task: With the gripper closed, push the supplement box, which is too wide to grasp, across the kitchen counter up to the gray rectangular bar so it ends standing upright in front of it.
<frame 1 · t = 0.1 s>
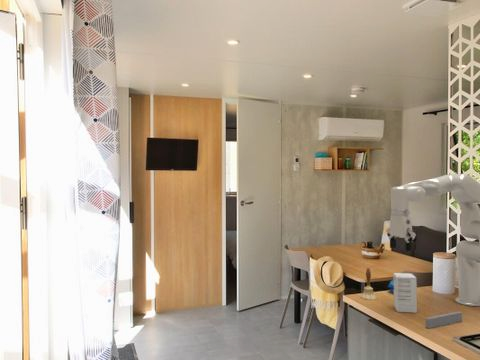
hand: (400, 249, 187), 31 cm above the kitchen counter, tool pointing down, fingers open, 9 cm apart
gray rectangular bar: (444, 324, 175), on the kitchen counter
supplement box: (405, 309, 195), on the kitchen counter
hand bell: (368, 298, 215), on the kitchen counter
crystal: (398, 293, 222), on the kitchen counter
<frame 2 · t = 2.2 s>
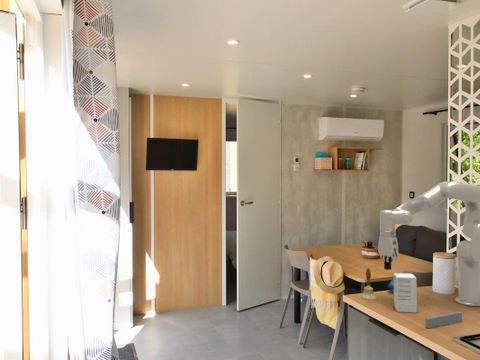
hand: (387, 269, 206), 17 cm above the kitchen counter, tool pointing down, fingers closed
nothing on the kitchen counter moved.
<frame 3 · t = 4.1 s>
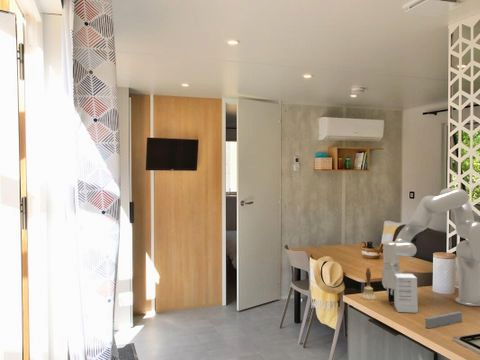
hand: (391, 301, 204), 1 cm above the kitchen counter, tool pointing down, fingers closed
supplement box: (405, 309, 195), on the kitchen counter, touching gripper
everything else where it was.
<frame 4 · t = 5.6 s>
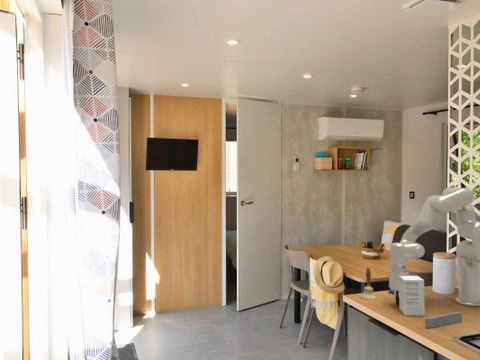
hand: (399, 304, 199), 1 cm above the kitchen counter, tool pointing down, fingers closed
supplement box: (411, 313, 191), on the kitchen counter, touching gripper
everything else where it was.
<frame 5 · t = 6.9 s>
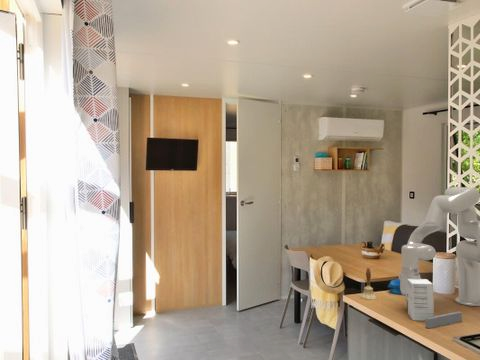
hand: (410, 308, 192), 1 cm above the kitchen counter, tool pointing down, fingers closed
supplement box: (420, 317, 184), on the kitchen counter, touching gripper
everything else where it was.
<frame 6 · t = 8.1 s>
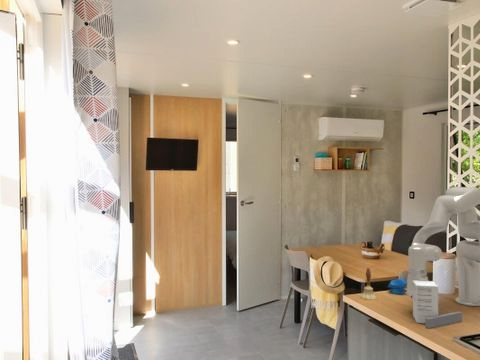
hand: (417, 311, 188), 2 cm above the kitchen counter, tool pointing down, fingers closed
supplement box: (425, 320, 180), on the kitchen counter, touching gray rectangular bar, gripper
everything else where it was.
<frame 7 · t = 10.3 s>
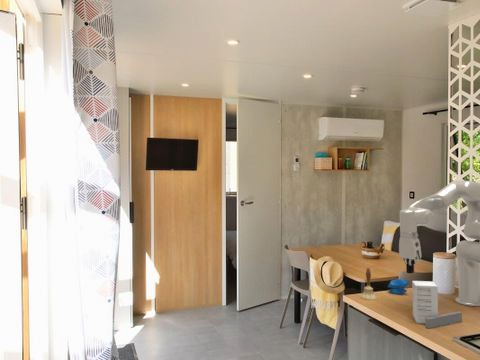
hand: (410, 272, 193), 19 cm above the kitchen counter, tool pointing down, fingers closed
supplement box: (425, 320, 180), on the kitchen counter
everything else where it was.
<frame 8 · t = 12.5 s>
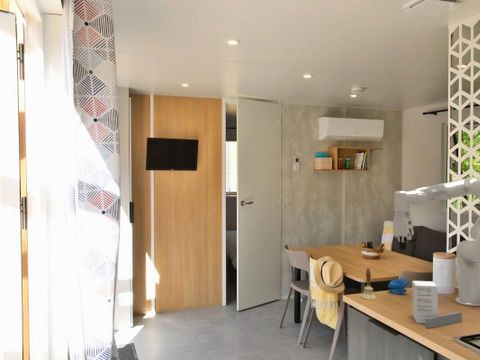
hand: (402, 249, 208), 27 cm above the kitchen counter, tool pointing down, fingers closed
nothing on the kitchen counter moved.
at the end: supplement box inside the target area (3.4 cm from its centre), on the kitchen counter; supplement box tilted 0° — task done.
